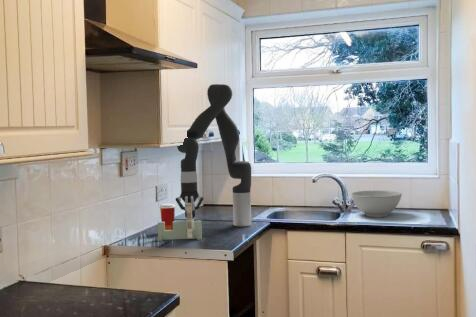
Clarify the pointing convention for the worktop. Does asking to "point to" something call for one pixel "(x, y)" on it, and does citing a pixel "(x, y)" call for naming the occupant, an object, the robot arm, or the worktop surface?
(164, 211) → the paper cup
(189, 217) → the beige flat panel
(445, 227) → the worktop surface
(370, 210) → the decorative bowl
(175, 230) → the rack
